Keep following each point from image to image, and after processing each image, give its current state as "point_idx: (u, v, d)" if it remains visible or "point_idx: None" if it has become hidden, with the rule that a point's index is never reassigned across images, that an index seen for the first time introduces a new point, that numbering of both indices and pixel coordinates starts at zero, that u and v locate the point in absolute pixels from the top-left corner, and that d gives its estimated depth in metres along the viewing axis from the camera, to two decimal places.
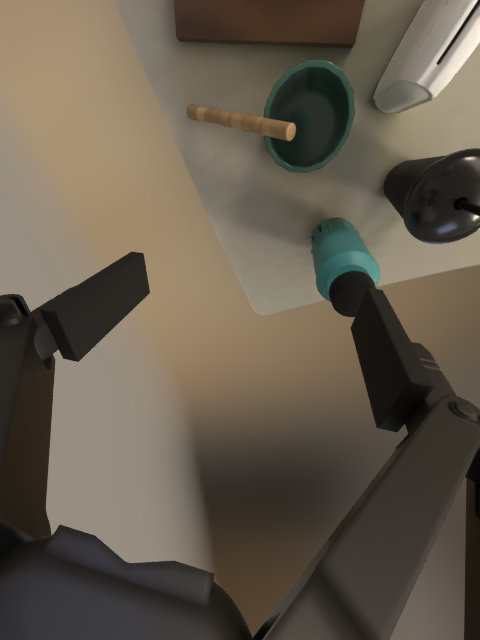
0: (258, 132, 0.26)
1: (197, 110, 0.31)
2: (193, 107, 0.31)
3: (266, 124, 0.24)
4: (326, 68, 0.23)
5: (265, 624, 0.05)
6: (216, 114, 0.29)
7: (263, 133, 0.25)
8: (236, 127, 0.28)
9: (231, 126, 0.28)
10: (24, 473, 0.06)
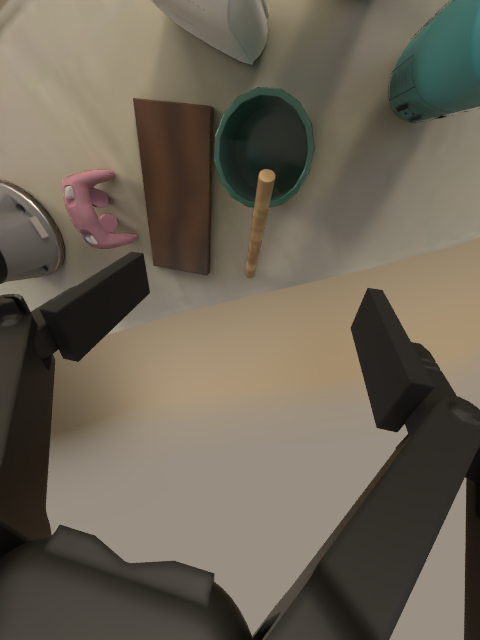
0: (265, 214, 0.24)
1: (248, 269, 0.35)
2: (246, 271, 0.36)
3: (259, 205, 0.23)
4: (220, 137, 0.22)
5: (265, 624, 0.05)
6: (251, 254, 0.31)
7: (266, 208, 0.23)
8: (261, 236, 0.27)
9: (260, 241, 0.28)
10: (24, 473, 0.06)
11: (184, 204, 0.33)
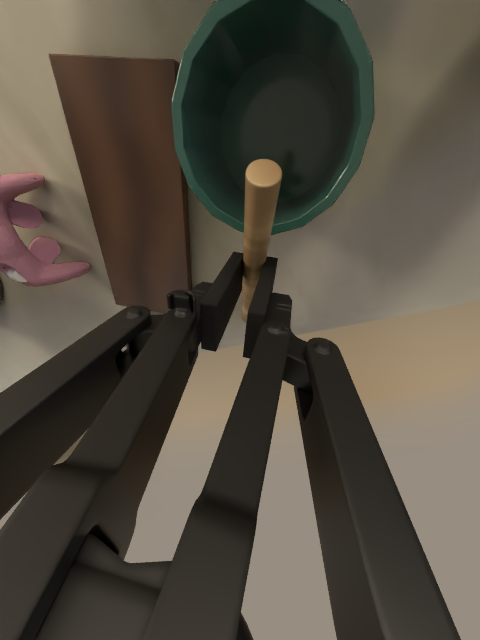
0: (265, 245, 0.13)
1: (244, 313, 0.24)
2: (242, 315, 0.25)
3: (250, 231, 0.12)
4: (182, 102, 0.11)
5: None
6: (246, 297, 0.20)
7: (266, 237, 0.12)
8: None
9: None
10: (135, 472, 0.06)
11: (149, 222, 0.22)
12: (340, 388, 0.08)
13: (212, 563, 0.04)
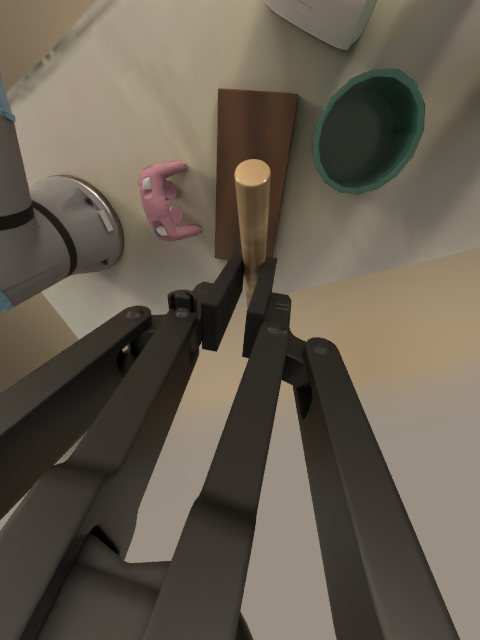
0: (261, 245, 0.13)
1: None
2: None
3: (245, 231, 0.12)
4: (323, 121, 0.22)
5: None
6: (249, 298, 0.20)
7: (261, 236, 0.12)
8: None
9: None
10: (135, 472, 0.06)
11: None
12: (339, 388, 0.08)
13: (211, 563, 0.04)
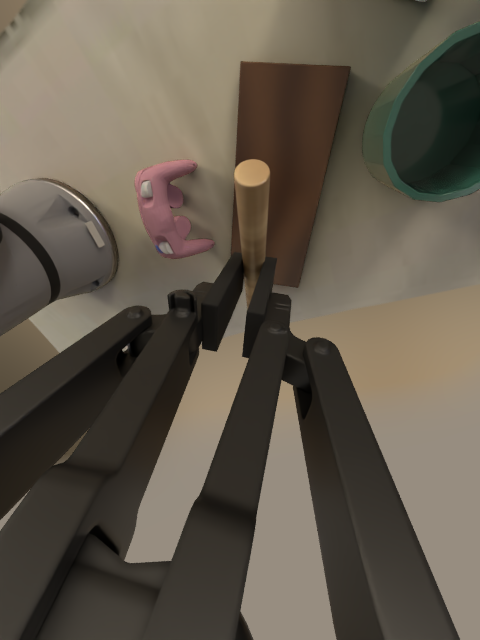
0: (261, 245, 0.13)
1: None
2: None
3: (245, 231, 0.12)
4: (403, 99, 0.16)
5: None
6: (249, 298, 0.20)
7: (261, 236, 0.12)
8: None
9: None
10: (136, 472, 0.06)
11: (285, 201, 0.26)
12: (339, 388, 0.08)
13: (211, 563, 0.04)
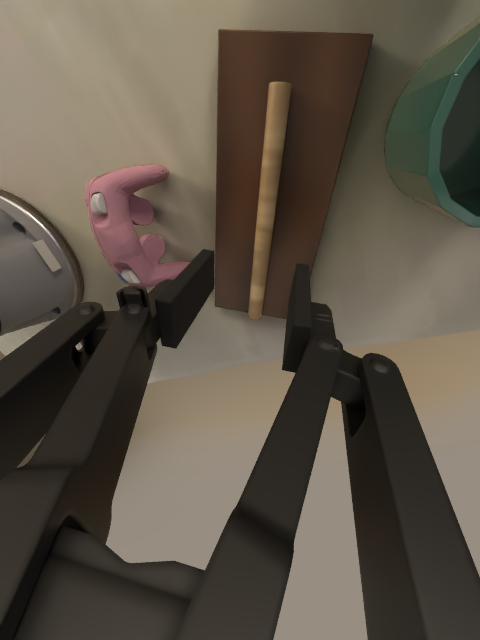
0: (277, 161, 0.17)
1: (252, 298, 0.24)
2: (249, 306, 0.24)
3: (268, 137, 0.16)
4: (467, 73, 0.10)
5: None
6: (256, 258, 0.21)
7: (279, 147, 0.17)
8: (270, 215, 0.19)
9: (269, 228, 0.20)
10: (104, 464, 0.06)
11: (282, 218, 0.20)
12: (398, 410, 0.07)
13: (245, 583, 0.04)
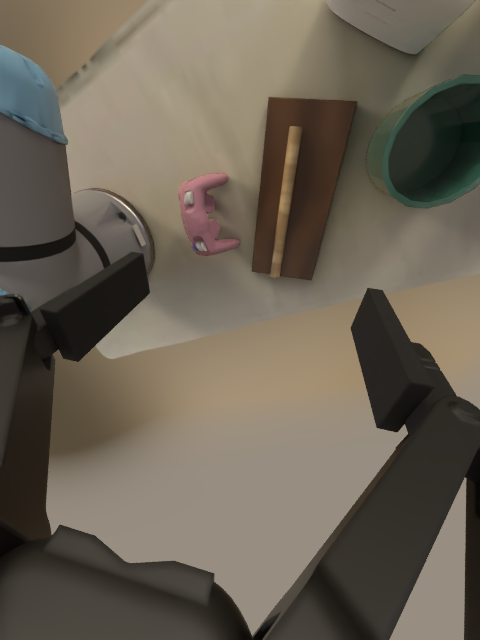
0: (286, 170, 0.28)
1: None
2: None
3: None
4: (397, 132, 0.21)
5: (265, 624, 0.05)
6: None
7: (287, 162, 0.28)
8: (281, 203, 0.30)
9: (281, 211, 0.31)
10: (24, 473, 0.06)
11: (302, 207, 0.31)
12: None
13: None
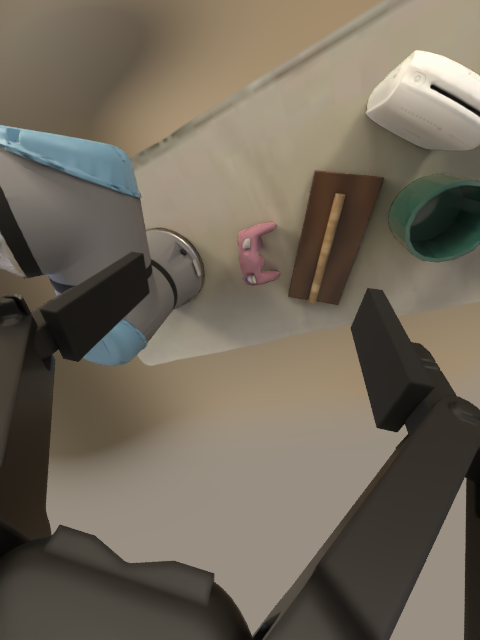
0: (334, 225, 0.36)
1: (311, 290, 0.43)
2: (309, 295, 0.43)
3: (331, 215, 0.35)
4: (417, 211, 0.29)
5: (265, 624, 0.05)
6: (317, 269, 0.40)
7: (336, 219, 0.35)
8: (328, 249, 0.38)
9: (326, 254, 0.38)
10: (24, 473, 0.06)
11: (335, 249, 0.39)
12: None
13: None
